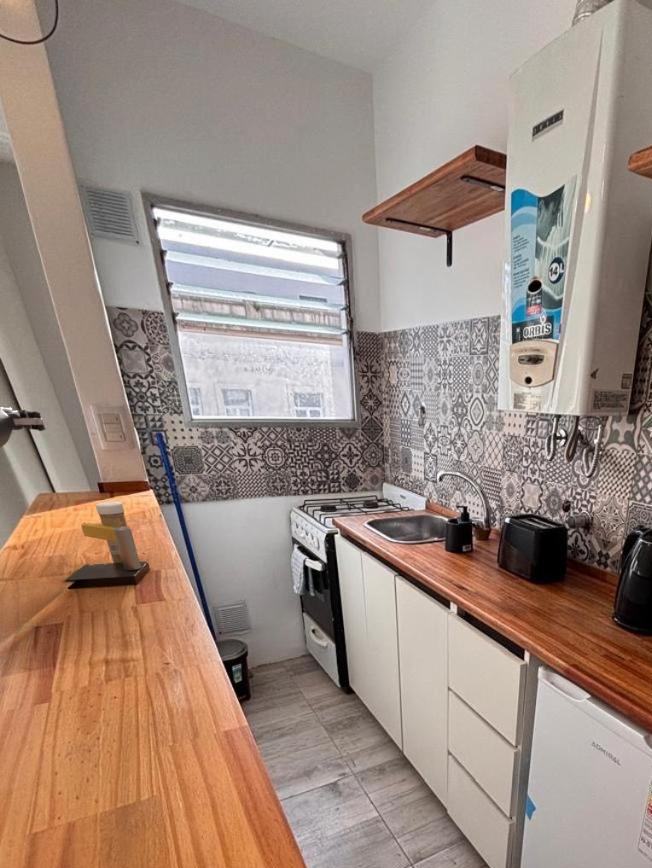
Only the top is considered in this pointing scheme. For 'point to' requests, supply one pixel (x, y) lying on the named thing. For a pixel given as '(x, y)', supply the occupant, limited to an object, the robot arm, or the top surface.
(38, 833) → the top surface
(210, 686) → the top surface
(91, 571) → the stove plate
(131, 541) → the gas tap
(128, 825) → the top surface
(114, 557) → the sprinkles bottle
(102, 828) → the top surface
